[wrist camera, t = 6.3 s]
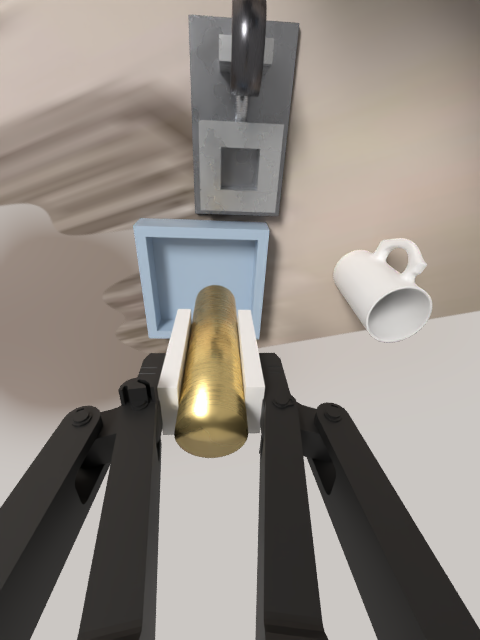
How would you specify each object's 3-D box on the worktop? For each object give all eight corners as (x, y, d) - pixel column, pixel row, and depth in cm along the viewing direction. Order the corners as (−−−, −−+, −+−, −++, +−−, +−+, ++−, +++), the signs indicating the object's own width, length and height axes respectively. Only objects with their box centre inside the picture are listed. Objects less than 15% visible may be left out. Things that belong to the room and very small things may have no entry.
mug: (364, 298, 43) (407, 348, 33) (322, 286, 42) (354, 335, 32) (403, 231, 38) (468, 266, 28) (357, 216, 37) (408, 246, 27)
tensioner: (189, 16, 27) (176, -27, 20) (297, 25, 28) (324, -15, 20) (195, 212, 36) (188, 231, 29) (277, 215, 36) (291, 234, 29)
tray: (140, 218, 36) (133, 225, 33) (265, 222, 37) (269, 230, 34) (154, 324, 44) (149, 338, 41) (256, 325, 45) (259, 339, 42)
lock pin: (194, 284, 20) (171, 408, 11) (236, 285, 20) (250, 407, 11) (195, 320, 21) (176, 458, 12) (234, 320, 22) (246, 456, 12)
